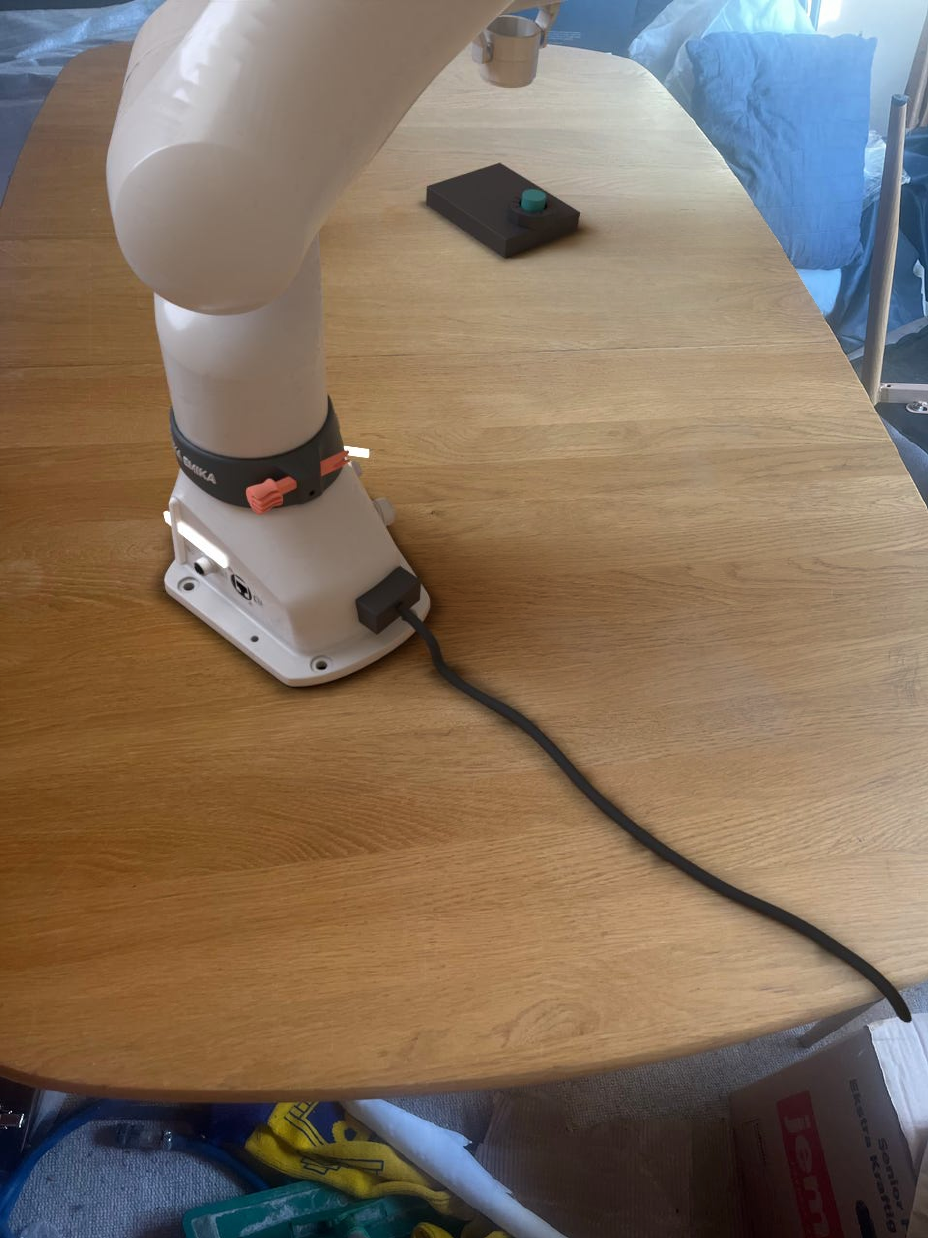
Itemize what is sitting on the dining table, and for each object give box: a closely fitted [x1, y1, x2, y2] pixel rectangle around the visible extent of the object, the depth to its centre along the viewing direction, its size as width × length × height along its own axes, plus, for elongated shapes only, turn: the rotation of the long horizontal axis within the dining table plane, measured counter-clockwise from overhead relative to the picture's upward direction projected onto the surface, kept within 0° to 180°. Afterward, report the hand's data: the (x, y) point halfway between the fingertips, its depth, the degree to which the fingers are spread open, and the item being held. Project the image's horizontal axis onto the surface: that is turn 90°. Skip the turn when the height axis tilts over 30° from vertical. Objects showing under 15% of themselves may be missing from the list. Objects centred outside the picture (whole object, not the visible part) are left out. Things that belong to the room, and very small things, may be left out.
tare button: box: [521, 189, 546, 212], centre depth 113 cm, size 3×3×2 cm
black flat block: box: [425, 162, 581, 259], centre depth 117 cm, size 16×12×4 cm
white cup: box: [477, 14, 542, 89], centre depth 104 cm, size 6×6×5 cm
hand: (509, 54), depth 104 cm, fingers closed on white cup, 6 cm apart
